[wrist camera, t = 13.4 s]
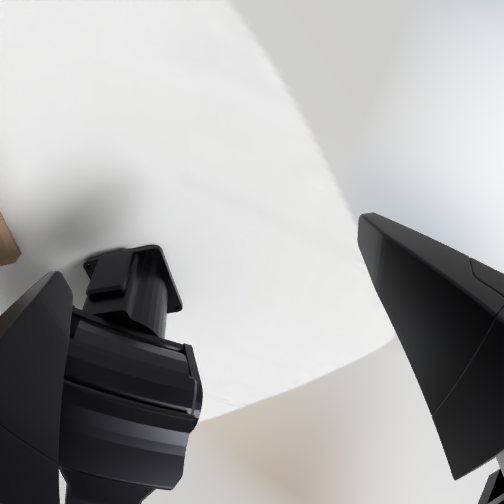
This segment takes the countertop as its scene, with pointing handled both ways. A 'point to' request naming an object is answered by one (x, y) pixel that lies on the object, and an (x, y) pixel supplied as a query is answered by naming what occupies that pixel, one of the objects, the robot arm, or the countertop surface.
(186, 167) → the countertop surface
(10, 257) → the mount
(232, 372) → the countertop surface
